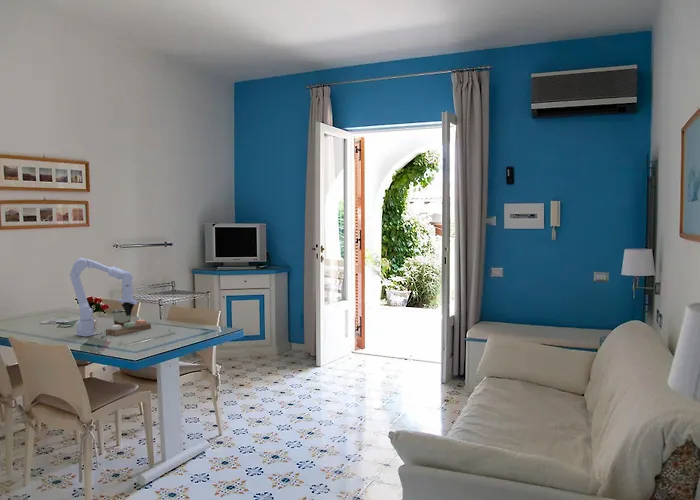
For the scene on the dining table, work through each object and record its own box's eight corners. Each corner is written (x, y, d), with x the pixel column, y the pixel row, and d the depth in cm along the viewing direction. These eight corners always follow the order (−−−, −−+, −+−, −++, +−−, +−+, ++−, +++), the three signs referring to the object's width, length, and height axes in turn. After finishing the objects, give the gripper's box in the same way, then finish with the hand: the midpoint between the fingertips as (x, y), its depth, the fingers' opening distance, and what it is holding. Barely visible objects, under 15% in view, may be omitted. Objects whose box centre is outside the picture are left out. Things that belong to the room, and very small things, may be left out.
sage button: (123, 328, 333) (123, 323, 333) (129, 327, 337) (129, 322, 336) (128, 329, 331) (128, 323, 331) (134, 328, 334) (133, 322, 334)
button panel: (106, 334, 326) (105, 329, 326) (141, 326, 346) (141, 322, 346) (115, 336, 321) (115, 330, 321) (151, 328, 342) (150, 323, 341)
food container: (136, 324, 354) (135, 308, 354) (131, 326, 348) (130, 310, 348) (117, 324, 356) (116, 308, 355) (112, 326, 349) (111, 310, 349)
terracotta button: (136, 326, 340) (135, 320, 340) (141, 325, 344) (141, 319, 344) (140, 327, 338) (140, 321, 338) (146, 325, 342) (145, 320, 341)
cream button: (111, 331, 326) (110, 325, 326) (117, 330, 329) (116, 324, 329) (115, 332, 324) (115, 326, 324) (121, 331, 327) (121, 325, 327)
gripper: (141, 292, 332) (142, 315, 333) (125, 290, 340) (126, 313, 341) (131, 294, 326) (132, 317, 327) (115, 292, 334) (116, 315, 335)
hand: (128, 315), depth 333 cm, fingers closed
